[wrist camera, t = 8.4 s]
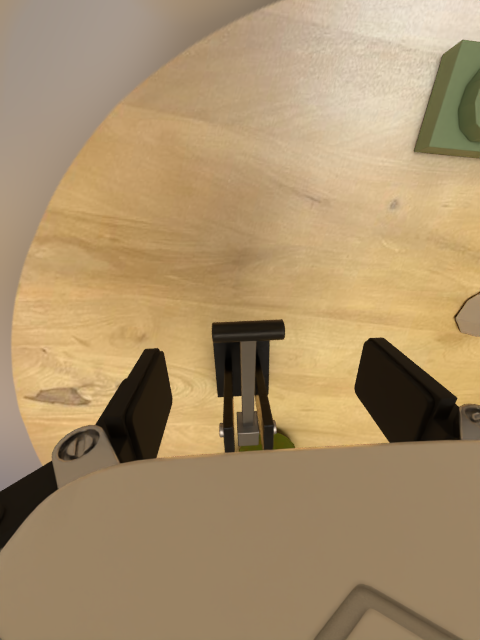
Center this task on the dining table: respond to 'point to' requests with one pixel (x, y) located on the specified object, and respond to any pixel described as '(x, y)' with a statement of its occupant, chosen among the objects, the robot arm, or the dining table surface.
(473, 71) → the button block
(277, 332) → the lever
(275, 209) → the dining table surface
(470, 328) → the flask
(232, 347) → the switch bracket
